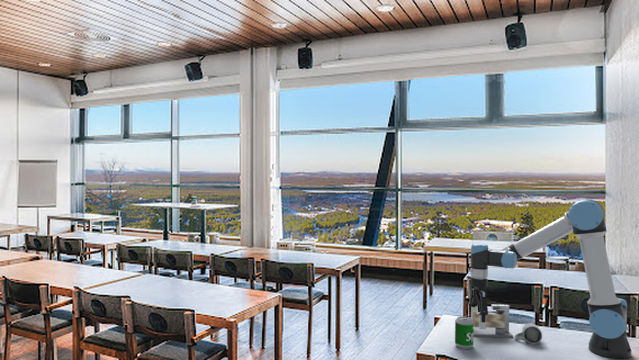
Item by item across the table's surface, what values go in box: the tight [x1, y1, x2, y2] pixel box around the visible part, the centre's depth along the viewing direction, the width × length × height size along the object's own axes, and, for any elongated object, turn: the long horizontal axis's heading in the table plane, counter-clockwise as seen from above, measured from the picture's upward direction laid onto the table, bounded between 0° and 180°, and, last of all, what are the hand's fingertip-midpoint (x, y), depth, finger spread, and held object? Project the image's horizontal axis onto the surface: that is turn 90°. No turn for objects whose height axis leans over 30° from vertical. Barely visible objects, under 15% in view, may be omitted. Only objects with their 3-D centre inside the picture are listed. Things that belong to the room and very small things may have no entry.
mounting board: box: [474, 327, 514, 339], centre depth 211 cm, size 15×18×4 cm
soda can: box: [454, 316, 474, 350], centre depth 191 cm, size 8×8×12 cm
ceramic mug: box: [514, 322, 543, 345], centre depth 199 cm, size 11×8×8 cm
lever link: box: [473, 309, 505, 328], centre depth 206 cm, size 14×4×8 cm, turn 88°
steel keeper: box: [490, 304, 510, 332], centre depth 209 cm, size 2×8×13 cm, turn 88°
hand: (478, 324), depth 206 cm, fingers open, 11 cm apart
